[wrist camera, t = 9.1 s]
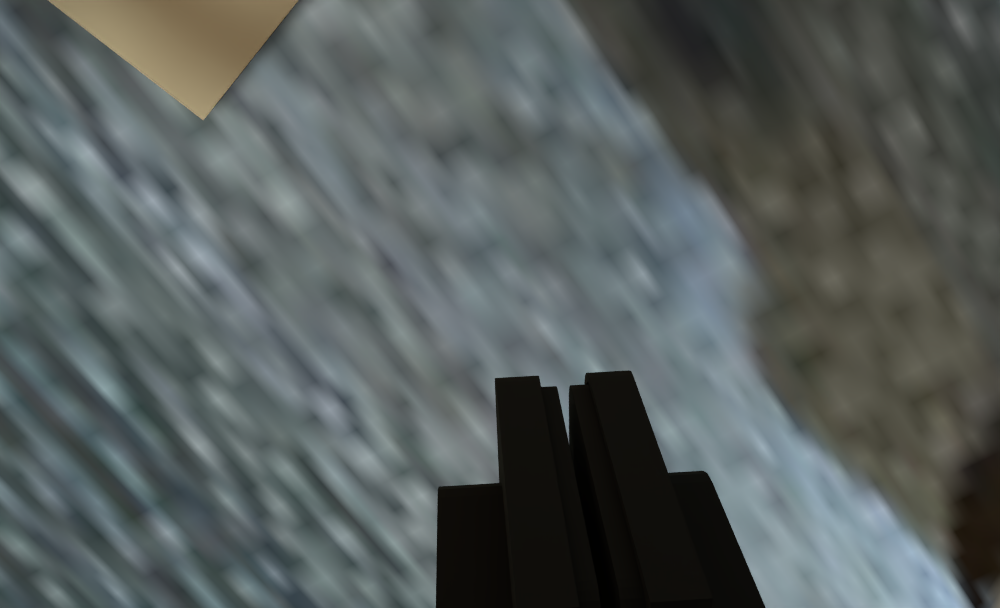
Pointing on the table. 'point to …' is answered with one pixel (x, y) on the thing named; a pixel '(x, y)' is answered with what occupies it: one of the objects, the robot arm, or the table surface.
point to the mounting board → (183, 40)
